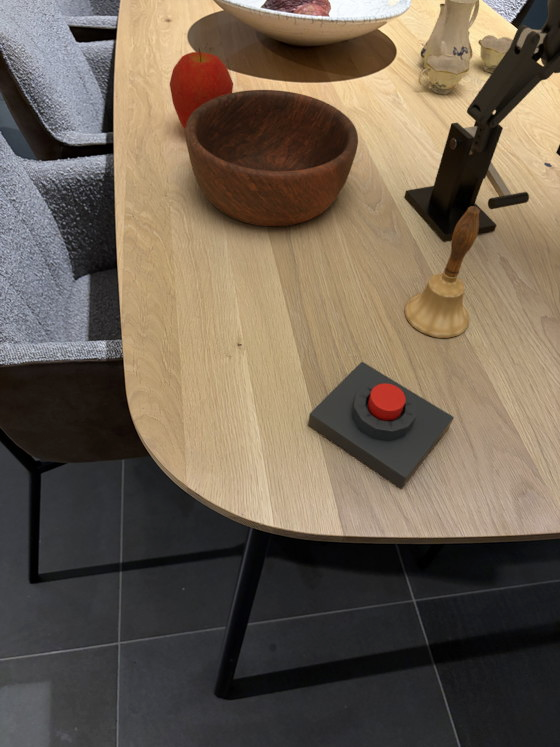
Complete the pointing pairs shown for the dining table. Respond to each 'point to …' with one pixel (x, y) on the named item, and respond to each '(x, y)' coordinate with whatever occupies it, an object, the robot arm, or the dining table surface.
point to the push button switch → (380, 426)
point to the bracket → (451, 188)
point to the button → (386, 402)
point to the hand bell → (446, 288)
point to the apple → (197, 82)
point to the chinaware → (457, 46)
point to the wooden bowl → (270, 155)
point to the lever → (499, 185)
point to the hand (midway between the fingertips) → (521, 165)
